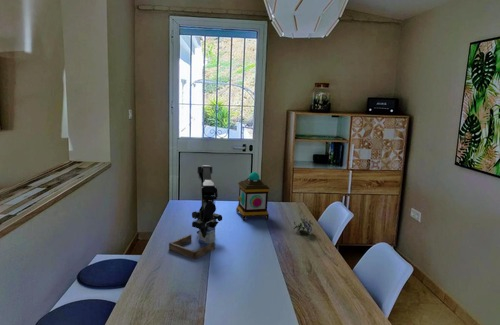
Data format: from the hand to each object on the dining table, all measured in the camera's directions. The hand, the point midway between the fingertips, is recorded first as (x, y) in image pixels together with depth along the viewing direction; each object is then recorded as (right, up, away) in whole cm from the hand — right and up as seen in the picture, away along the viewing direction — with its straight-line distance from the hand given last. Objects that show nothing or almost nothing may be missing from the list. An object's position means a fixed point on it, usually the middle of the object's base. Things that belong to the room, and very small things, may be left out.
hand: (207, 236), depth 193 cm
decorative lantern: (+24, +4, +48) cm, 53 cm away
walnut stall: (-6, -5, -8) cm, 11 cm away
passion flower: (+54, -3, +21) cm, 58 cm away
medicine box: (0, -4, 0) cm, 4 cm away
